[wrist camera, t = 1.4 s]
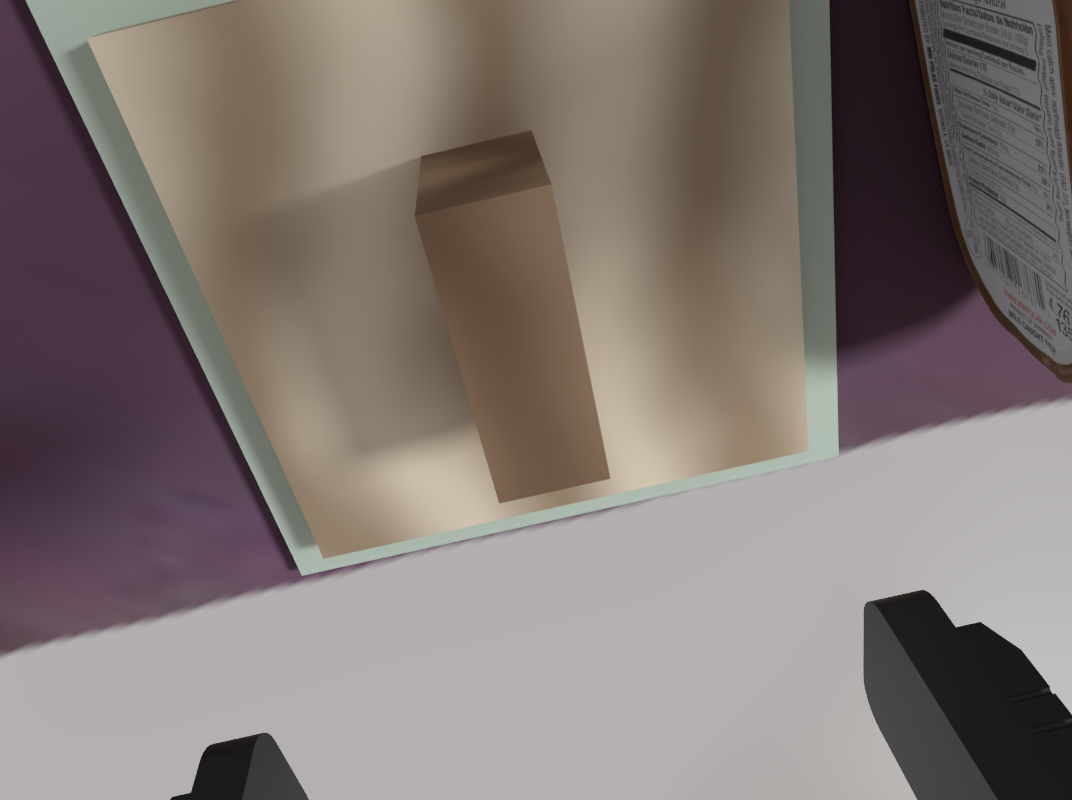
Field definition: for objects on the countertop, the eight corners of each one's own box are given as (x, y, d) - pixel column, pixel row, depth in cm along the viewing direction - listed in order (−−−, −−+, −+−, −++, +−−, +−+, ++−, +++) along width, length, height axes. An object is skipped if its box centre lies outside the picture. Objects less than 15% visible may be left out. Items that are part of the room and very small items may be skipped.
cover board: (766, -129, 21) (877, -141, 15) (795, 431, 29) (872, 548, 24) (104, 31, 21) (-13, 74, 16) (327, 536, 30) (301, 673, 24)
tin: (1040, 277, 28) (1247, 408, 21) (948, 316, 28) (1119, 457, 21) (969, -237, 20) (1254, -314, 13) (846, -173, 21) (1056, -214, 14)
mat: (815, -215, 20) (824, -217, 20) (832, 447, 31) (838, 456, 30) (26, -21, 21) (16, -20, 20) (304, 564, 31) (301, 575, 31)
